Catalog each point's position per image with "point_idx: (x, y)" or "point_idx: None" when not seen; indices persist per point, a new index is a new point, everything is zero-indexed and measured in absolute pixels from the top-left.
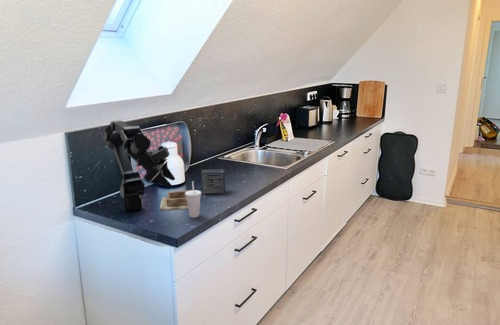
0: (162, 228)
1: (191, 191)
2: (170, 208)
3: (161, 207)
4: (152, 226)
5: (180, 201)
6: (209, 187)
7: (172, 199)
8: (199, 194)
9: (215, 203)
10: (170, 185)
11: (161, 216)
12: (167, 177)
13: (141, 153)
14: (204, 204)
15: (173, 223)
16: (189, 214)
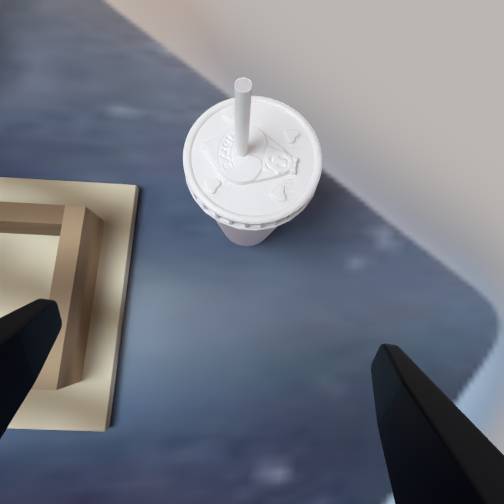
0: None
1: (226, 165)
2: (115, 356)
3: (85, 420)
4: (359, 460)
5: (81, 287)
6: None
7: (62, 343)
8: (292, 114)
9: (91, 101)
10: (404, 362)
11: (214, 411)
12: (2, 423)
13: None
14: (87, 157)
15: (333, 336)
16: (255, 243)
